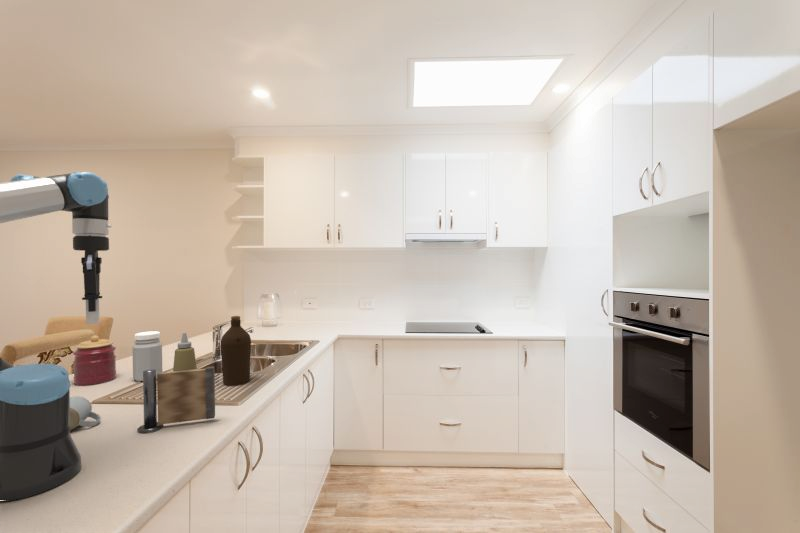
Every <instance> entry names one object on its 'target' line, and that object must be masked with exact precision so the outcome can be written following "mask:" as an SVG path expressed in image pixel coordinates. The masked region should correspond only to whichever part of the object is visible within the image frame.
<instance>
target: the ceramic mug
mask: <svg viewBox="0 0 800 533" xmlns="http://www.w3.org/2000/svg"><path fill="white" fill-rule="evenodd" d="M92 410H93V406H92V403H91V401H90V400H89V399H88V398H86V397H84V396H79V395H76V396H75V395H74V396H70V431H72V430H74V429H76V428H77V427H80V426H81V427H84V428H86V427H88V428H91V427H95V426H98V425H99V423H100V421H101V418H102V417H101V416H100V414H98V413H96V412H93V411H92ZM87 418H91V419H94V420H93V421H89V420H87Z"/></svg>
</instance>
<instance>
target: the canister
mask: <svg viewBox="0 0 800 533" xmlns="http://www.w3.org/2000/svg"><path fill="white" fill-rule="evenodd" d="M113 344H114V341H112V340H110V339H106V338H101V339H100V337H99V336H98V335H95V334H94V335H92V336H91V337H90V339H89V340H86V341H84V340H83V341H81V342H79V344H77V345H76V346H75V348H76V350H75V351H73V352H72V355H73V356H74V360H73V361H72V363H73V382H74V385H75V386H76V385H77V386H91V385H92V386H93V385H99V384H103V383H107V382H110V381H112V380H114V379H116V375H117V369H116V368H117V367H116V366H117V365H116V358H117V356H116V355H115V350H117V349H116V346H114V345H113Z"/></svg>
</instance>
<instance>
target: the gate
mask: <svg viewBox="0 0 800 533" xmlns="http://www.w3.org/2000/svg"><path fill="white" fill-rule="evenodd" d="M215 374H216V373H215V366H214V365H213V366H211V365H210V366H206V367H205V368H197V369H195V370H184V371H173V370H172V371H165V372H164V371H162V372H161V373H158V374H157V379H156V394H157V422H158V425H161V424H163V425H167V424H169V425H170V424H176V423H185V422H193V421H199V420H210V419H215V417H216V389H215V388H216V386H215V385H216V382H215V381H216V380H215V376H216V375H215Z"/></svg>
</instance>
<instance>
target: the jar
mask: <svg viewBox="0 0 800 533" xmlns="http://www.w3.org/2000/svg"><path fill="white" fill-rule="evenodd" d="M133 336H134V338H133V339H134V340H135V341H134V342H133V343H134V345H132V379H133V380H134V381H135V382H138V383H139V382H140V383H142V382H141V381H143V371H144V370H148V369H156V380H157V374H158V373H161V372H163V343H162V342H161V338H160V337H161V333H160V331H158V330H157V331H155V330H153V331H152V330H150V331H142V332H137V333H135V334H134V335H133Z"/></svg>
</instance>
